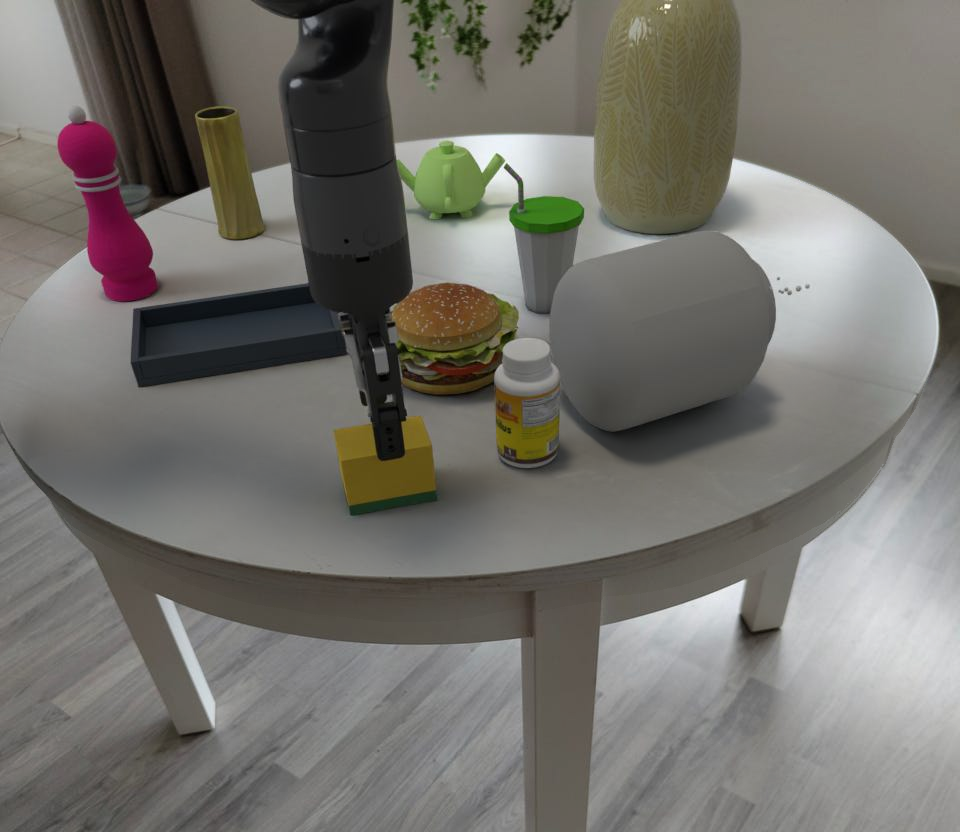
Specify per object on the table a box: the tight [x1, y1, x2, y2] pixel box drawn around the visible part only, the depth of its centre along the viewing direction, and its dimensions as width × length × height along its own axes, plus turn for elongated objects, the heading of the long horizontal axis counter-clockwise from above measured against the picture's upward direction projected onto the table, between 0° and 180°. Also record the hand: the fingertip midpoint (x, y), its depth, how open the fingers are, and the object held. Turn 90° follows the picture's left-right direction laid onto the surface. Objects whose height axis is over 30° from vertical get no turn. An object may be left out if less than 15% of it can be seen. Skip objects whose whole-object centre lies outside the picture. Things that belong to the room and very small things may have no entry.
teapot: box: [397, 140, 506, 220], centre depth 123 cm, size 11×12×8 cm
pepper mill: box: [56, 105, 159, 302], centre depth 106 cm, size 7×7×20 cm
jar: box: [548, 230, 811, 432], centre depth 85 cm, size 19×15×25 cm
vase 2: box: [593, 0, 743, 235], centre depth 112 cm, size 17×17×27 cm
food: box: [390, 282, 520, 396], centre depth 93 cm, size 14×14×8 cm
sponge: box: [333, 415, 438, 516], centre depth 79 cm, size 8×5×6 cm, turn 104°
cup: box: [503, 162, 585, 315], centre depth 100 cm, size 8×8×15 cm
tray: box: [130, 282, 348, 388], centre depth 101 cm, size 22×13×3 cm, turn 104°
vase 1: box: [194, 105, 266, 241], centre depth 119 cm, size 6×6×14 cm
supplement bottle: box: [493, 337, 561, 469], centre depth 81 cm, size 6×6×10 cm
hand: (382, 429), depth 77 cm, fingers open, 8 cm apart
